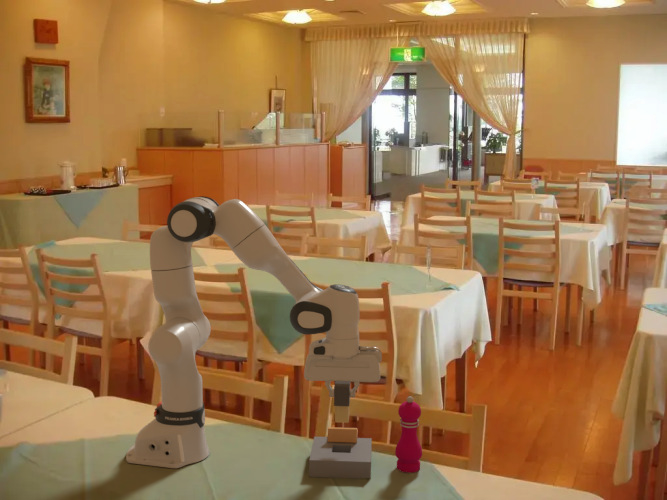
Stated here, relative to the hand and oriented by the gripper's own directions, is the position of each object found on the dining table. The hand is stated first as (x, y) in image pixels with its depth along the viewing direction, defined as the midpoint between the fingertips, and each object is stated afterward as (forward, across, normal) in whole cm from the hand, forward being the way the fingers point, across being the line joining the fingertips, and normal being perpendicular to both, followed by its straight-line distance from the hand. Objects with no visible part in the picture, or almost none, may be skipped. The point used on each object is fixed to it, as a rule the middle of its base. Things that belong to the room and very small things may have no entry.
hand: (342, 396), depth 216 cm
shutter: (+15, 0, -8) cm, 17 cm away
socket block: (+19, 0, 0) cm, 19 cm away
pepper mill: (+20, -18, 0) cm, 27 cm away
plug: (+7, 0, 0) cm, 7 cm away
